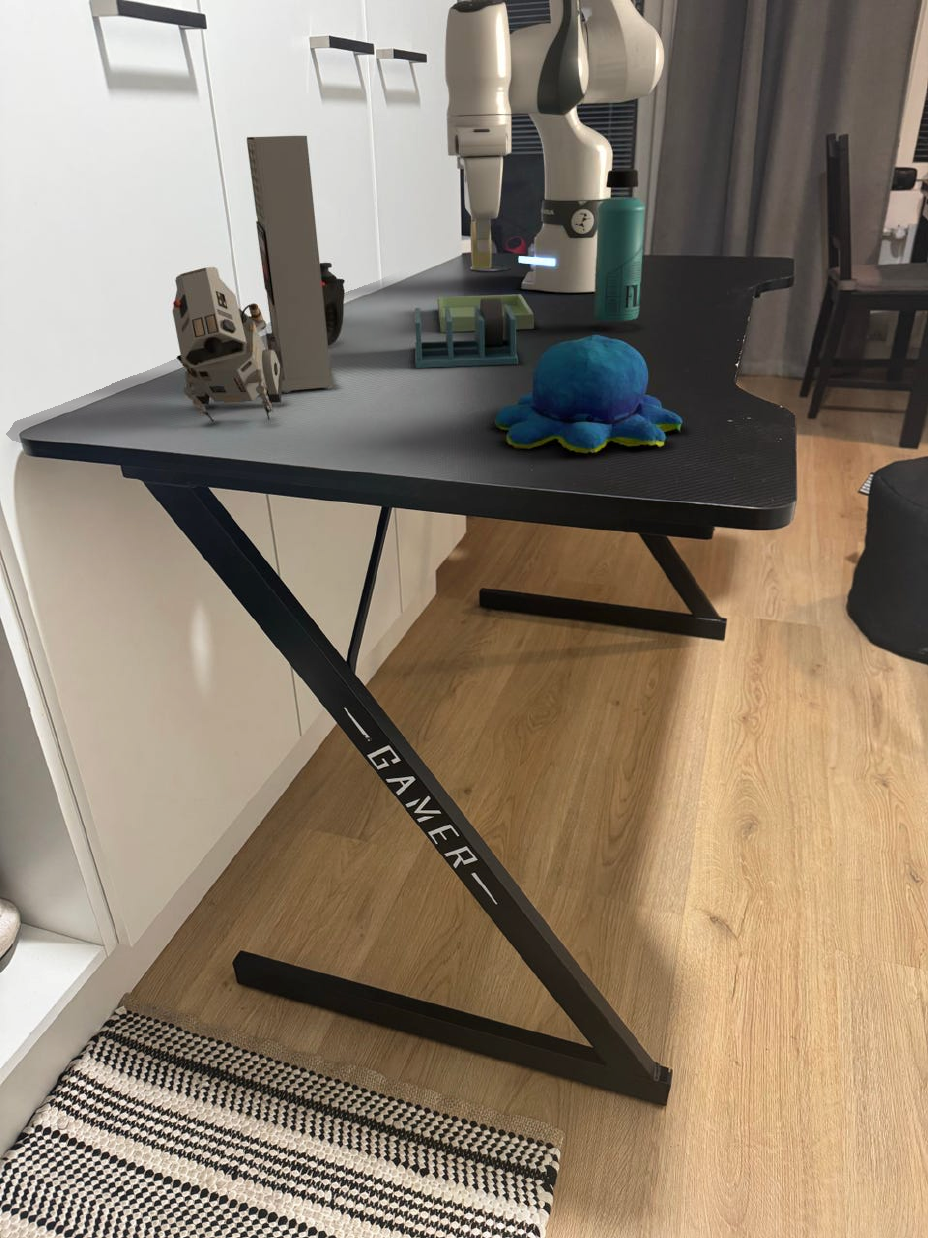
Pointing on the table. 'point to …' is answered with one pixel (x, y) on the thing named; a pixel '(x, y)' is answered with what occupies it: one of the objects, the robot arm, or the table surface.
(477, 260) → the masking tape
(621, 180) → the beverage bottle
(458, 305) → the tray
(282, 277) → the tall beige panel
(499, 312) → the vinyl tape
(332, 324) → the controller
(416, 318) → the tape rack
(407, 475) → the table surface
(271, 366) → the figurine
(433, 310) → the table surface
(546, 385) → the plush toy
